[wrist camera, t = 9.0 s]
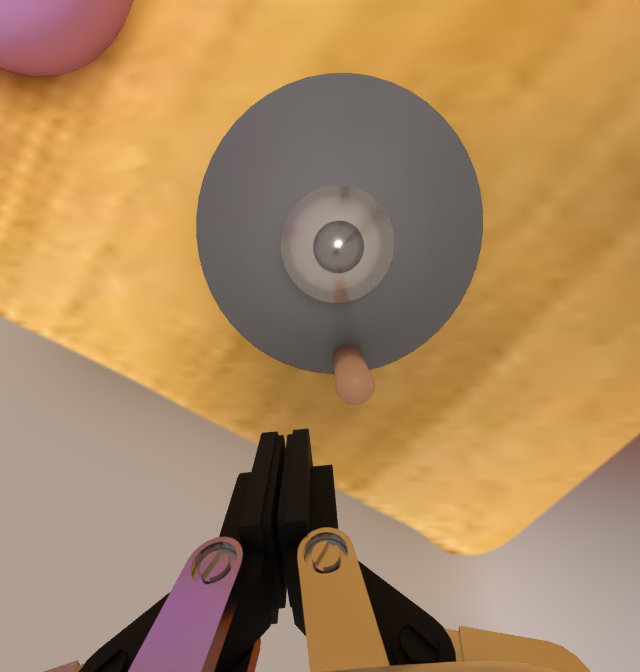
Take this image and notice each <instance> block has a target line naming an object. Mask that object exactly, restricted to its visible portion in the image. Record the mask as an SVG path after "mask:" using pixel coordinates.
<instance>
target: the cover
mask: <svg viewBox="0 0 640 672" xmlns="http://www.w3.org/2000/svg"><path fill="white" fill-rule="evenodd" d="M393 253H394V234H393V229H392V225H391V222H390V220H389V217H388V215H387V213H386V212H385V210H384V209H383V207H382V206H381V205H380V204H379V202H378V201H376V200H375V199H374V198H373V197H372V196H370V195H369V194H368V193H366V192H364V191H362V190H360V189H357V188H355V187H351V186H346V185H331V186H326V187H322V188H319V189H317V190H314V191H313V192H311V193H309V194H307V195H306V196H305V197H303V198H302V199H301V200H300V201H299V202H298V203H297V204H296V205H295V206H294V208H293V209H292V210H291V212H290V213H289V215H288V217H287V219H286V221H285V224H284V227H283V231H282V236H281V254H282V259H283V263H284V266H285V268H286V271H287V272H288V274H289V276H290V278H291V279H292V280H293V282H294V283H295V284H296V285H297V286H298V287H299V288H300V289H301V290H302V291H303V292H305V293H306V294H308V295H309V296H311V297H313V298H316V299H318V300H321V301H325V302H331V303H342V302H348V301H352V300H355V299H358V298H360V297H362V296H364V295H366V294H367V293H369V292H370V291H372V290H373V289H374V288H375V287H376V286H377V285H378V284H379V283H380V282H381V280H382V279H383V278H384V276H385V275H386V273H387V271H388V269H389V267H390V264H391V261H392V257H393Z"/></svg>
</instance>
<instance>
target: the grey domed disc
mask: <svg viewBox="0 0 640 672" xmlns="http://www.w3.org/2000/svg"><path fill="white" fill-rule="evenodd" d="M331 185H346V186H351V187H355V188H357V189H360V190H362V191H364V192H366V193H368V194H369V195H370V196H372V197H373V198H374V199H375V200H376V201H378V202H379V204H380V205H381V206H382V207H383V209H384V210H385V212H386V213H387V215H388V217H389V220H390V222H391V225H392V229H393V234H394V253H393V257H392V261H391V264H390V267H389V269H388V271H387V273H386V275H385V276H384V278H383V279H382V280H381V282H380V283H379V284H378V285H377V286H376V287H375V288H374V289H373V290H372V291H370V292H369V293H367V294H366V295H364V296H362V297H360V298H358V299H355V300H352V301H348V302H342V303H331V302H325V301H321V300H318V299H316V298H313V297H311V296H309V295H308V294H306V293H305V292H303V291H302V290H301V289H300V288H299V287H298V286H297V285H296V284H295V283H294V282H293V280H292V279H291V278H290V276H289V274H288V272H287V271H286V268H285V266H284V263H283V259H282V254H281V236H282V231H283V227H284V224H285V221H286V219H287V217H288V215H289V213H290V212H291V210H292V209H293V208H294V206H295V205H296V204H297V203H298V202H299V201H300V200H301V199H302V198H303V197H305V196H306V195H307V194H309V193H311V192H313V191H314V190H317V189H319V188H322V187H326V186H331ZM196 220H197V244H198V251H199V258H200V261H201V265H202V269H203V273H204V276H205V279H206V281H207V284H208V286H209V289H210V291H211V293H212V295H213V297H214V299H215V300H216V302H217V304H218V306H219V308H220V309H221V311H222V312H223V313H224V315H225V316H226V318H227V319H228V320H229V322H230V323H231V324H232V325H233V326H234V327H235V328H236V329H237V331H238V332H239V333H240V334H241V335H242V336H243V337H244V338H246V339H247V340H248V341H249V342H250V343H252V344H253V345H254V346H255V347H257V348H258V349H260V350H261V351H263V352H264V353H266V354H267V355H269V356H271V357H273V358H275V359H277V360H279V361H281V362H283V363H285V364H288V365H291V366H294V367H297V368H299V369H304V370H308V371H313V372H319V373H330V374H335V380H336V388H337V393H338V395H339V397H340V398H341V399H342V400H343V401H344V402H346V403H348V404H352V405H357V404H362V403H364V402H366V401H367V400H368V399H370V397H371V396H372V394H373V392H374V382H373V379H372V377H371V374H370V372H369V370H370V369H374V368H378V367H381V366H384V365H386V364H389V363H391V362H394V361H396V360H398V359H400V358H402V357H404V356H405V355H407V354H409V353H411V352H413V351H414V350H415V349H417V348H418V347H419V346H421V345H422V344H424V343H425V342H426V341H427V340H429V339H430V338H431V337H432V336H433V335H434V334H435V333H436V332H437V331H438V330H439V329H440V328H441V327H442V326H443V325H444V324H445V322H446V321H447V320H448V319H449V318H450V317H451V315H452V314H453V312H454V311H455V309H456V308H457V306H458V305H459V303H460V302H461V300H462V298H463V296H464V294H465V292H466V291H467V289H468V287H469V285H470V282H471V279H472V277H473V274H474V271H475V269H476V265H477V261H478V257H479V253H480V249H481V240H482V232H483V209H482V201H481V194H480V188H479V184H478V181H477V177H476V173H475V170H474V167H473V165H472V163H471V160H470V158H469V156H468V153H467V151H466V149H465V148H464V146H463V144H462V143H461V141H460V139H459V137H458V136H457V134H456V133H455V131H454V130H453V129H452V128H451V126H450V125H449V124H448V123H447V122H446V120H445V119H444V118H443V117H442V116H441V115H440V114H439V113H438V112H437V111H436V110H435V109H434V108H433V107H431V106H430V105H429V104H428V103H427V102H426V101H424V100H423V99H421V98H420V97H418V96H417V95H415V94H414V93H412V92H411V91H409V90H407V89H405V88H403V87H401V86H398V85H396V84H394V83H392V82H389V81H386V80H383V79H379V78H376V77H373V76H368V75H360V74H352V73H334V74H323V75H318V76H312V77H307V78H304V79H301V80H298V81H295V82H293V83H290V84H287V85H285V86H283V87H281V88H279V89H277V90H275V91H274V92H272V93H270V94H268V95H266V96H265V97H264V98H262V99H261V100H260V101H258V102H257V103H256V104H254V105H253V106H251V107H250V108H249V109H248V110H247V111H246V112H245V113H244V114H243V115H242V116H241V117H240V118H239V119H238V120H237V121H236V122H235V123H234V124H233V126H232V127H231V128H230V130H229V131H228V132H227V134H226V135H225V136H224V138H223V139H222V140H221V142H220V144H219V146H218V148H217V149H216V151H215V153H214V155H213V156H212V158H211V161H210V163H209V166H208V168H207V171H206V173H205V176H204V179H203V183H202V187H201V191H200V195H199V200H198V209H197V217H196Z"/></svg>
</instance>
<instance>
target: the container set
mask: <svg viewBox="0 0 640 672" xmlns="http://www.w3.org/2000/svg"><path fill="white" fill-rule="evenodd" d="M132 2H133V0H0V68H2V69H4V70H7V71H9V72H12V73H18V74H23V75H28V76H33V77H37V76H58V75H61V74H65V73H68V72H72V71H75V70H78V69H80V68H81V67H83V66H85V65H86V64H88V63H90V62H92V61H93V60H95V59H97V58H98V57H99V56H100V55H101V54H102V53H103V52H104V51H105V50H106V49H107V48H108V47H109V46H110V45H111V44H112V43H113V41H114V39H115V38H116V36H117V34H118V33H119V31H120V30H121V28H122V26H123V25H124V23H125V21H126V19H127V16H128V13H129V10H130V8H131V5H132Z"/></svg>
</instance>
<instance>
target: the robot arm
mask: <svg viewBox="0 0 640 672" xmlns="http://www.w3.org/2000/svg"><path fill="white" fill-rule="evenodd" d="M287 590H288V596H289V602H290V607H292V610H293V616H294V622H295V625H296V626H297V627H298V628H299V629H300V630H301V631H302V632H303V634H304V635H305V636H306V638H307V647H308V655H309V664H310V672H590V670H589V669H588V668H587V667H586V666H585V665H584V664H583V663H582V662H581V661H580V660H579V658H578V657H577V656H575V655H574V654H573V653H571V652H570V651H568V650H567V649H565V648H564V647H562V646H560V645H557V644H554V643H551V642H548V641H543V640H537V639H532V638H526V637H520V636H514V635H509V634H503V633H497V632H492V631H486V630H479V629H474V628H469V627H463V626H459V631H456V630H450V629H444V627H443V626H442V625H441V624H439V622H437V621H436V620H435V619H434V618H433V617H432V616H430V615H429V614H428V613H426V612H425V611H424V610H422V609H421V608H420V607H419V606H417V605H416V604H415V603H413V602H412V601H411V600H409V599H408V598H407V597H405V596H404V595H403V594H401V593H400V592H399V591H397V590H396V589H394V588H393V587H392V586H391V585H389V584H388V583H387V582H385V581H384V580H383V579H381V578H380V577H379V576H378V575H376V574H375V573H373V572H372V571H371V570H370V569H368V568H367V567H366V566H364V565H363V564H362V563H360V562H359V561H358V560H357V557H356V553H355V551H354V547H353V544H352V542H351V540H350V538H349V537H348V536H347V535H346V534H345V533H344V532H342V531H340V530H338V521H337V511H336V499H335V488H334V477H333V467H332V465H324V466H313V462H312V454H311V445H310V436H309V429H299V430H293V434H290V435H288V436H287V443H286V448H285V440H284V436H283V435H278V432H267V433H262V434H261V437H260V441H259V445H258V449H257V453H256V457H255V460H254V465H253V468H252V472H248V473H241V474H239V476H238V478H237V481H236V485H235V488H234V491H233V494H232V497H231V501H230V504H229V507H228V510H227V513H226V516H225V520H224V523H223V526H222V529H221V532H220V536H219V537H218V538H215V539H212V540H209V541H207V542H205V543H204V544H203V545H201V546H199V547H198V548H197V549H196V550H195V551H194V552H193V554H192V555H191V556H190V558H189V559H188V561H187V563H186V564H185V567H184V568H183V570H182V572H181V574H180V576H179V577H178V579H177V581H176V583H175V585H174V587H173V589H172V590H171V592H170V593H169V594H167V595H166V596H165V597H163V598H162V599H161V600H160V601H158V602H157V603H156V604H155V605H153V606H152V607H151V608H150V609H149V610H147V611H146V612H145V613H143V614H142V615H141V616H140V617H138V618H137V619H136V620H135V621H133V622H132V623H131V624H130V625H128V626H127V627H126V628H125V629H123V630H122V631H121V632H120V633H118V634H117V635H116V636H115V637H114V638H112V639H111V640H110V641H109V642H107V643H106V644H105V645H104V646H102V647H101V648H100V649H99V650H98V651H97V652H96V653H94V654H93V655H92V656H91V657H90V658H89V659H88V660H87V661H86V663H85V664H82V665H80V664H79V662H78V661H74V662H71V663H68V664H65V665H62V666H59V667H57V668H53V669H51V670H48V671H45V672H255V668H256V664H257V660H258V656H259V652H260V644H261V638H260V637H261V636H262V635H263V634H264V633H265V632H266V630H267V629H268V628H269V627H270V625H271V624H276V623H277V621H278V610H279V608H285V605H286V592H287Z"/></svg>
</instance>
